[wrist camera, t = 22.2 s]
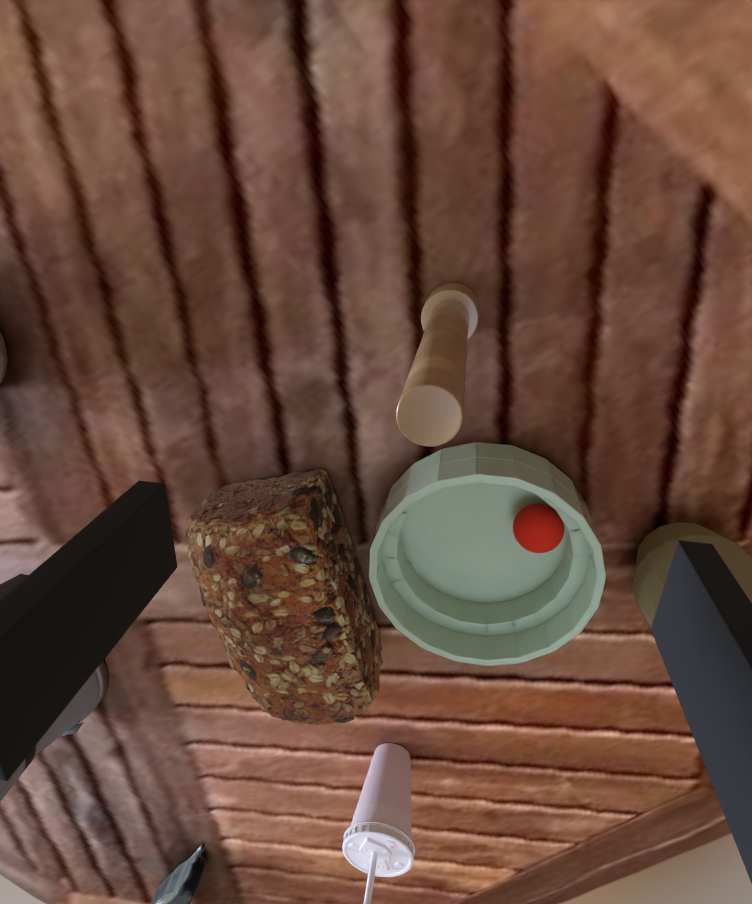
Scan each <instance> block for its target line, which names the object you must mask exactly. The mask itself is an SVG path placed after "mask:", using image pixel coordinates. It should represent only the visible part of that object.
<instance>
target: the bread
mask: <svg viewBox="0 0 752 904" xmlns="http://www.w3.org/2000/svg"><path fill="white" fill-rule="evenodd" d="M186 536H187V539H188V540H187V544H188V553H189V560H190V561H191V563H192V568H193V574H194V578H195V580H196V581H197V582H198V583H199V587H200V593H201V597H202V601H203V605H204V606H205V607H206V608H207V610H208V613H209V616H210V618H211V621H212V624H213V626H214V627H215V628H216V630H217V631H218V633H219V636H220V638H221V639H222V641H223V643H224V646H225V650H226V653H227V654H228V661H229V664H230V666H231V667H232V668H233V669H235V670H236V671H237V672H238V673H239V674H240V676H241V677H242V678H243V679H244V680H245V682H246V686H247V689H248V690H249V691H250V692H251V694H252V696H253V698H254V699H255V700H256V702H257V703H258V704H259V706H260V708H262V710H263V711H264V712H267V713H269V714H270V715H271V716H273V717H277V718H281V719H282V720H288V721H292V722H301V723H305V724H307V725H319V724H326V723H334V722H338V723H345V722H348V721H351V720H353V719H354V717H353V716H354V715H357V714H360V713H363V712H367V710H368V707H369V706H370V705H371V703H372V700H373V698H374V697H375V695H376V694H377V693H378V691H379V675H380V673H381V669H380V666H381V665H382V663H383V661H382V657H381V650H382V647H381V637H380V631H379V628H378V626H377V624H376V621H375V618H374V615H373V612H372V609H371V606H370V601H369V596H368V592H367V590H366V585H365V583H364V581H363V576H362V572H361V567H360V566H359V564H358V559H357V555H356V552H355V549H354V545H353V542H352V539H351V536H350V533H349V529H348V528H347V527H346V525H345V522H344V515H343V514H342V512H341V508H340V505H339V503H338V501H337V500H336V494H335V492H334V490H333V488H332V484H331V480H330V479H329V477H328V475H327V472H326V471H325V470H322V469H313V470H311V471H309V472H301V471H296V472H293V473H289V474H287V475H284V476H282V477H272V478H269V479H265V480H261V479H252V480H248V481H243V482H236V483H232V484H229V485H226V486H224V487H222V488H221V489H219V490H217V491H216V492H214V493H212V494H210V496H209V497H208V498H206V499H205V500H204V502H203V503H202V504H201V506H200V507H199V508H198V509H197V510H195V511H194V512H193V515H192V516H191V517H190V518H189V521H188V523H187V530H186Z"/></svg>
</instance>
